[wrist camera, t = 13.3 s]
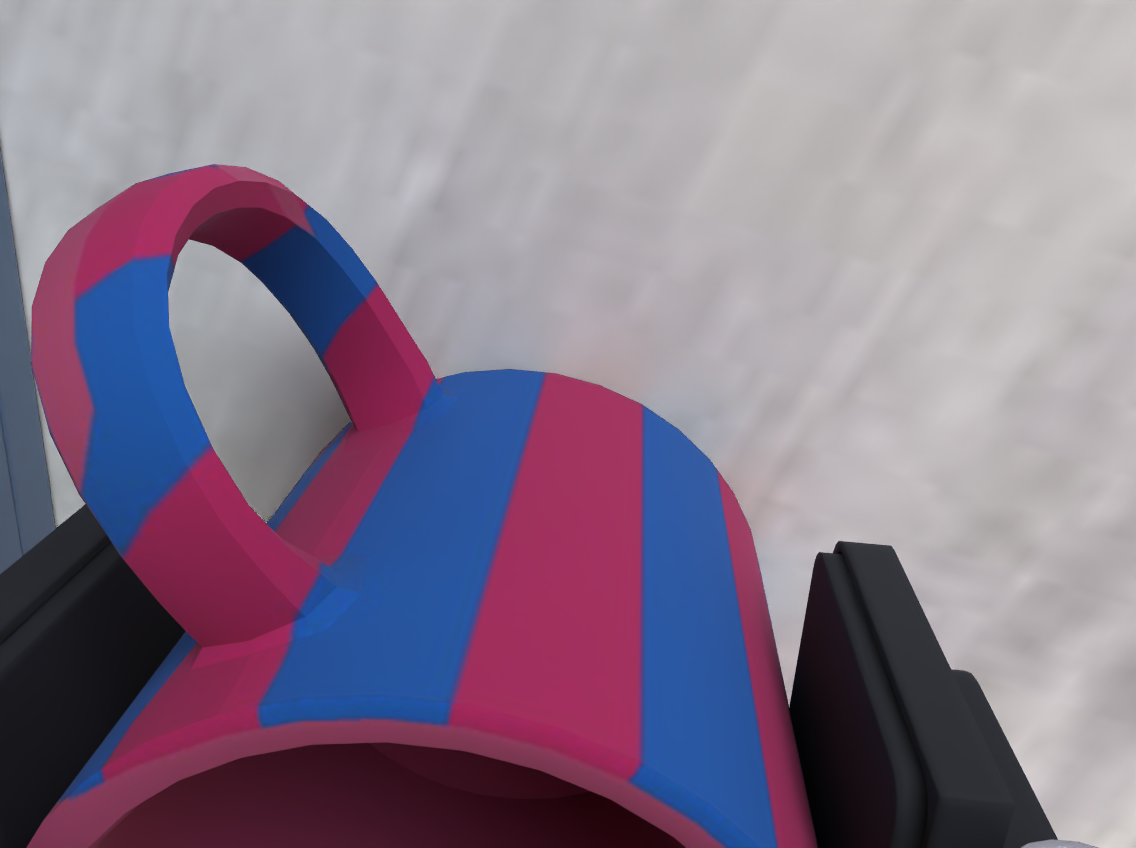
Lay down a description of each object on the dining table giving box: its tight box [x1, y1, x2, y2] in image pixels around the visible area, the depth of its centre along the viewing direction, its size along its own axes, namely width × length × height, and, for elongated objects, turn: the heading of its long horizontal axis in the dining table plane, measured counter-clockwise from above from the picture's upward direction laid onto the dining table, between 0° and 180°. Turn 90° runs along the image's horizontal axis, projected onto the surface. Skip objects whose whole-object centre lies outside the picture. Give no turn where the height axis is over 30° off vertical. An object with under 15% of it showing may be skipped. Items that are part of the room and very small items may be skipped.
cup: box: [27, 164, 818, 848], centre depth 10 cm, size 7×10×7 cm
